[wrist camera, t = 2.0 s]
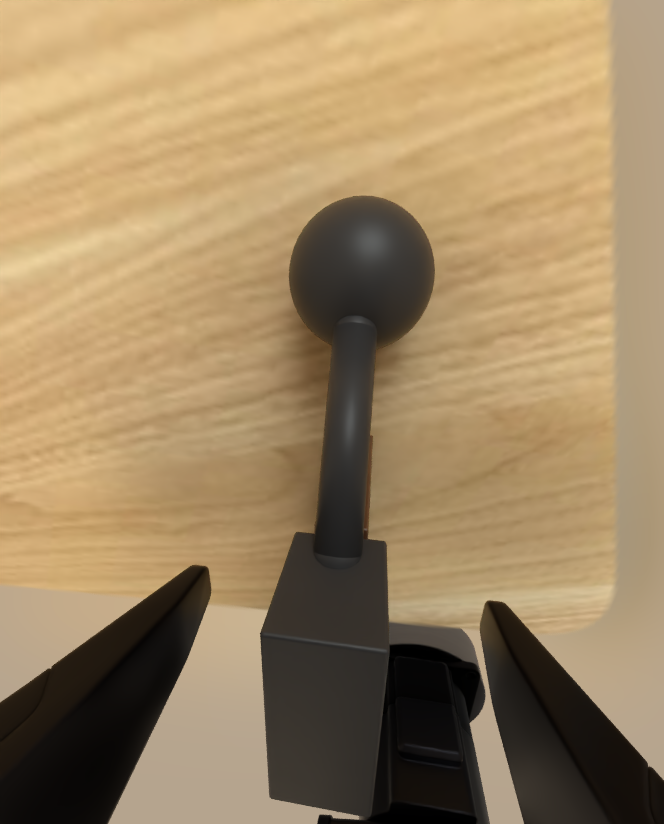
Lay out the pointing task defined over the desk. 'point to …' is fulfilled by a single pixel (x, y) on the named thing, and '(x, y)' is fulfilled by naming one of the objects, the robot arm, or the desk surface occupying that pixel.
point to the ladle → (340, 514)
